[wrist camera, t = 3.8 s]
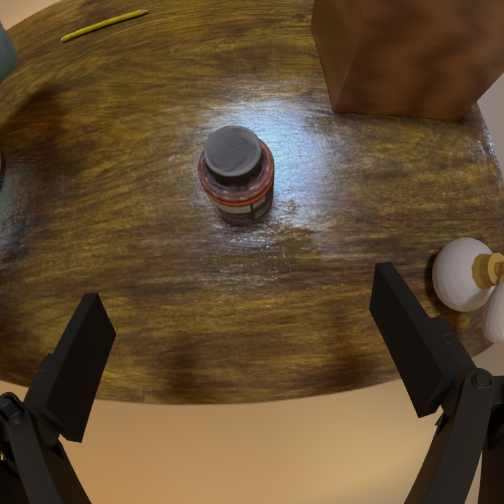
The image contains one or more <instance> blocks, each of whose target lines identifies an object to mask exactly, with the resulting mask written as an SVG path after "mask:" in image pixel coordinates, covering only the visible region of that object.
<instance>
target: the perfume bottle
mask: <svg viewBox="0 0 504 504" xmlns="http://www.w3.org/2000/svg"><path fill="white" fill-rule="evenodd" d="M432 281H433V286H434V290H435V292H436V294H437V296H438V298H439V299H440V300H441V301H442V302H443V303H444V304H445V305H446V306H448V307H449V308H451V309H454V310H457V311H464V312H468V311H472V310H475V309H478V308H479V307H481V306H482V305H484V304H485V303H486V302H487V303H486V305H485V308H484V312H483V316H482V330H483V333H484V335H485V337H486V338H487V339H488V340H489V341H491V342H494V343H503V342H504V256H503V255H501V254H500V253H492V252H491V251H490V249H489V248H488V247H487V246H486V245H485V244H483V243H482V242H480V241H478V240H475V239H473V238H459V239H456V240H453V241H451V242H450V243H448V244H447V245H445V246H444V247H443V248H442V250H441V251H440V252H439V253H438V255H437V257H436V259H435V262H434V265H433V269H432Z"/></svg>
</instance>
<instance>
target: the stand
mask: <svg viewBox="0 0 504 504" xmlns="http://www.w3.org/2000/svg"><path fill="white" fill-rule="evenodd" d="M310 27H311V30H312V33H313V36H314V40H315V43H316V46H317V50H318V53H319V57H320V61H321V64H322V68H323V72H324V75H325V79H326V83H327V87H328V91H329V95H330V100H331V104H332V108H333V112H345V113H374V114H391V115H404V116H415V117H425V118H434V119H442V120H450V121H458V120H459V119H460V118H461V117H462V116H463V115H464V114H465V113H466V112H467V111H468V110H469V108H470V107H471V106H472V105H473V104H474V103H475V102H476V101H477V100H478V99H479V98H480V97H481V96H482V95H483V94H484V93H485V92H486V91H487V90H488V89H489V88H490V87H491V85H492V84H493V83H494V82H495V81H496V80H497V79H498V78H499V77H500V76H501V75H502V74H503V73H504V0H314V6H313V13H312V20H311V26H310Z"/></svg>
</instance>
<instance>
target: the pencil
mask: <svg viewBox="0 0 504 504" xmlns="http://www.w3.org/2000/svg"><path fill="white" fill-rule="evenodd" d="M148 11H149V10H138V11H135V12H131V13H128V14H124V15H121V16H118V17H115V18H112V19H108V20H106V21H103V22H100V23H97V24H94V25H91V26H89V27H86V28H83V29H81V30H78V31H76V32H73V33H71V34H69V35H66V36H64V37H62V38H61V40H62V42H64V41H67V40H69V39H71V38H74V37H76V36H79V35H81V34H84V33H87V32H89V31H92V30H95V29H98V28H100V27H103V26H106V25H109V24H112V23H115V22H119V21H122V20H125V19H129V18H132V17H136V16H139V15H142V14H144V13H146V12H148Z"/></svg>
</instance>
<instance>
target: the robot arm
mask: <svg viewBox="0 0 504 504" xmlns="http://www.w3.org/2000/svg"><path fill="white" fill-rule="evenodd" d="M17 61H18V54H17V51H16V49H15V47H14V45H13V43H12V42H11V40H10V38H9V36H8V34H7V32H6V30H5V29H4V27H3V25H2V23H1V22H0V84H1V83H2V82H3V80H4V79H5V78H6V77H7V76H8V75H9V74H10V73H11V72H12V71H13V70H14V68H15V67H16V65H17ZM3 174H4V155H3V152H2V149H1V148H0V188H1V184H2V179H3ZM369 310H370V312H371V314H372V316H373V318H374V320H375V322H376V325H377V327H378V329H379V331H380V333H381V335H382V337H383V339H384V341H385V343H386V345H387V347H388V350H389V352H390V354H391V356H392V358H393V360H394V363H395V365H396V367H397V369H398V371H399V374H400V376H401V378H402V380H403V383H404V385H405V387H406V389H407V392H408V394H409V396H410V399H411V401H412V404H413V406H414V408H415V410H416V413H417V416H418V418H421V417H424V416H427V415H430V414H433V413H435V412H436V411H437V409H438V407H439V406H440V405H441V407H442V409H443V411H444V412H443V413H442V415H441V416H440V418H439V419H438V420H437V422H436V424H435V425H436V426H437V425H438V426H437V429H436V432H435V435H434V437H433V440H432V443H431V445H430V448H429V450H428V453H427V455H426V458H425V460H424V462H423V465H422V467H421V469H420V472H419V474H418V476H417V478H416V480H415V482H414V485H413V486H412V489H411V491H410V493H409V495H408V497H407V498H406V500H405V503H404V504H464V503H465V500H466V498H467V495H468V492H469V489H470V487H471V484H472V481H473V478H474V475H475V472H476V468H477V465H478V462H479V458H480V455H481V451H482V465H481V466H482V467H481V478H480V488H479V497H478V504H504V376H492V375H491V374H490V373H489V372H488V371H487V370H484V369H482V368H477V367H476V366H475V364H474V362H473V361H472V359H471V357H470V356H469V354H468V353H467V351H466V350H465V348H464V346H463V345H462V343H461V342H460V341H459V339H458V337H457V336H456V334H454V331H453V330H452V328H451V327H450V325H449V324H448V323H447V322H446V321H444V320H443V319H442V318H440V317H439V316H438V317H434V318H429V316H428V315H427V313H426V312H425V310H424V309H423V307H422V306H421V304H420V303H419V301H418V300H417V299H416V297H415V296H414V294H413V293H412V291H411V290H410V288H409V287H408V286H407V284H406V283H405V281H404V280H403V279H402V277H401V276H400V274H399V273H398V272H397V270H396V269H395V267H394V266H393V265H392V263H391V262H385V263H378V264H376V266H375V274H374V281H373V288H372V295H371V301H370V307H369ZM115 337H116V332H115V330H114V328H113V326H112V324H111V322H110V320H109V318H108V315H107V313H106V311H105V309H104V307H103V304H102V302H101V300H100V297H99V295H98V293H90V294H84V296H83V298H82V300H81V301H80V303H79V305H78V307H77V309H76V310H75V312H74V314H73V316H72V318H71V320H70V321H69V323H68V325H67V327H66V329H65V331H64V333H63V335H62V337H61V339H60V341H59V342H58V344H57V346H56V348H55V350H54V352H53V354H48V355H47V356H46V357H45V358H44V360H43V361H42V362H41V364H40V366H39V368H38V370H37V371H38V372H36V374H35V376H34V379H33V381H32V383H31V385H30V387H29V389H28V392H27V394H26V396H25V398H24V401H23V403H22V402H21V401H20V400H19V398H18V397H17V396H16V395H15V394H14V393H12V392H6V393H3V394H2V395H1V396H0V504H92V503H91V502H90V500H89V498H88V496H87V495H86V493H85V491H84V489H83V487H82V485H81V483H80V482H79V479H78V478H77V476H76V474H75V472H74V470H73V467H72V466H71V463H70V461H69V459H68V457H67V455H66V452H65V450H64V448H63V445H62V443H61V442H60V441H59V440H58V437H59V434H61V435H62V436H63V437H64V438H65V439H66V440H68V441H74V442H79V443H81V442H82V438H83V435H84V431H85V428H86V425H87V421H88V418H89V414H90V411H91V408H92V404H93V401H94V398H95V395H96V392H97V389H98V386H99V383H100V380H101V377H102V374H103V371H104V368H105V365H106V362H107V359H108V356H109V353H110V351H111V348H112V345H113V342H114V340H115ZM1 454H2V455H3V460H1Z"/></svg>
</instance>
